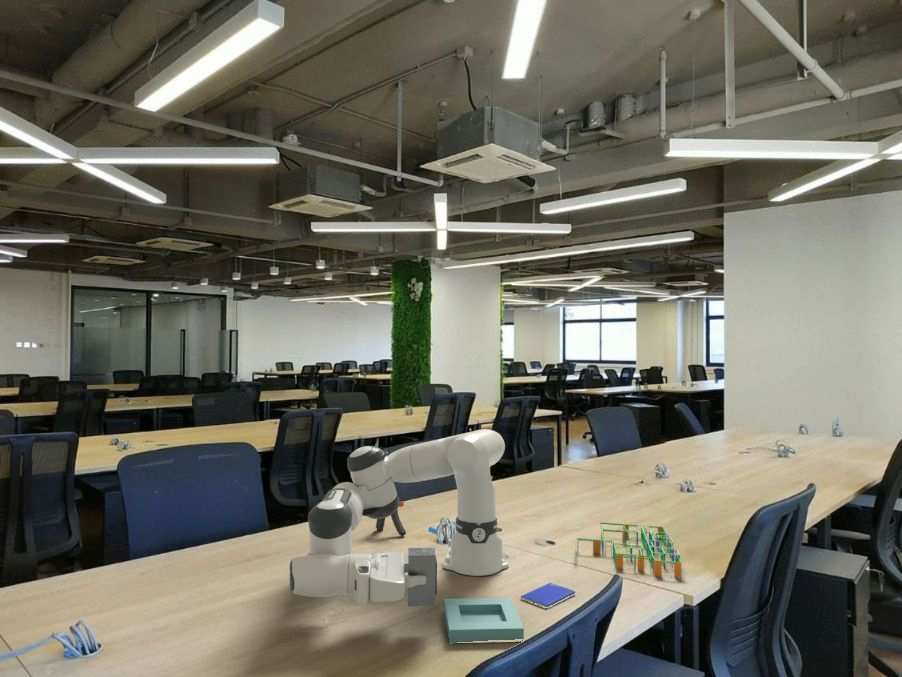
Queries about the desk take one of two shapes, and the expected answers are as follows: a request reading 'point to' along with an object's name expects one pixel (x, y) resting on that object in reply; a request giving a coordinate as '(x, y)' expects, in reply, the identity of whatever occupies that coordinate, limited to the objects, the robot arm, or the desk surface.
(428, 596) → the block
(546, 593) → the blue book
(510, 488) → the desk surface
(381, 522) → the hand grip strengthener
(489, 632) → the tray
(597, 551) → the house model
